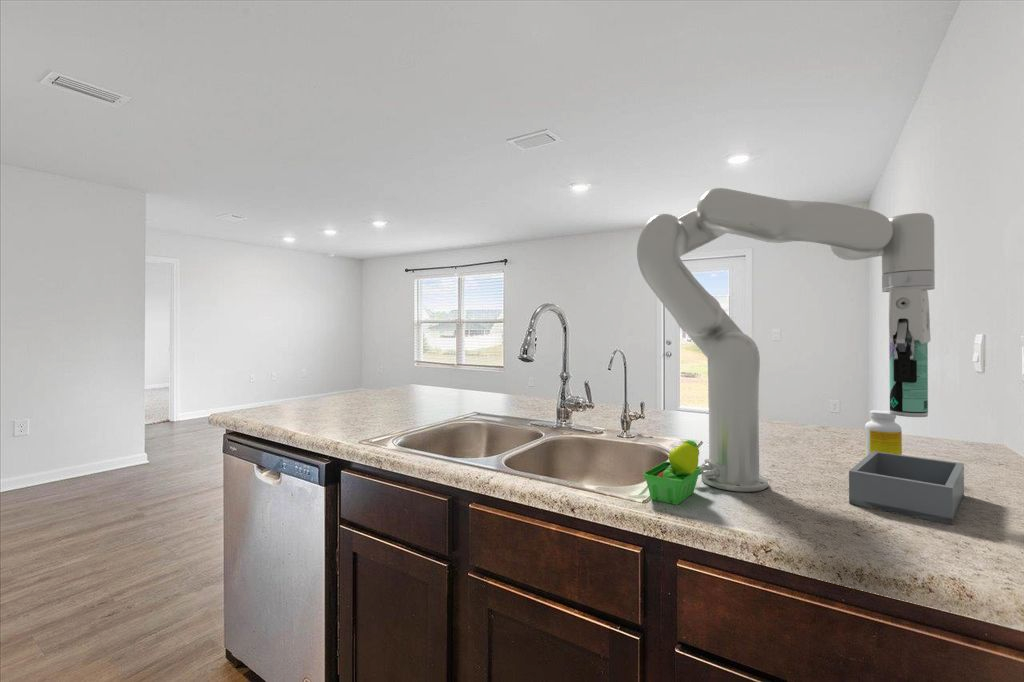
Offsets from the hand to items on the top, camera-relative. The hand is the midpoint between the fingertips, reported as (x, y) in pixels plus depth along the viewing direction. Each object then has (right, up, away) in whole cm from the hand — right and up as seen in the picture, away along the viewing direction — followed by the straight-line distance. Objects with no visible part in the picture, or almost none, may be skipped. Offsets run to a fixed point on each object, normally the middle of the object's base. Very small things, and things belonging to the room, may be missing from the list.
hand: (908, 379), depth 89 cm
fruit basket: (-42, -23, +4) cm, 48 cm away
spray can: (0, -7, 0) cm, 7 cm away
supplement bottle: (+11, -22, +20) cm, 32 cm away
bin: (0, -22, 0) cm, 22 cm away
